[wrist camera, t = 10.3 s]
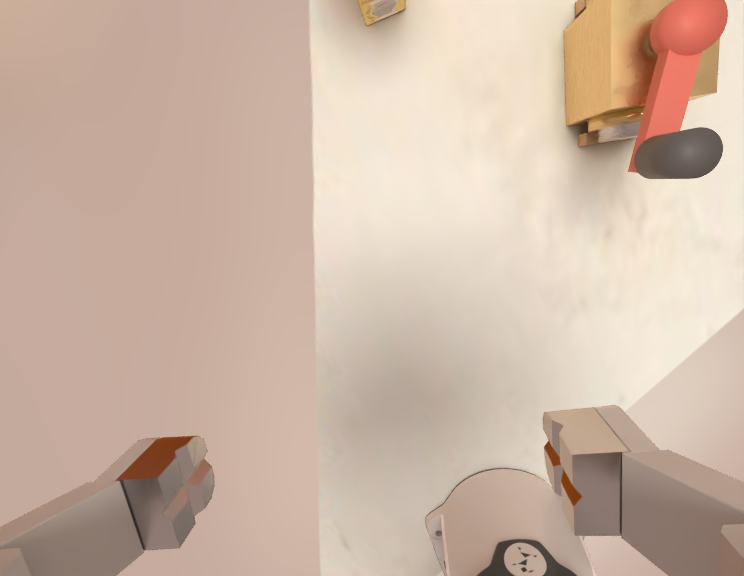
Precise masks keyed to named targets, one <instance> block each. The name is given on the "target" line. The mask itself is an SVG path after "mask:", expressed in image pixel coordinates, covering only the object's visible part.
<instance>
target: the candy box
mask: <svg viewBox="0 0 744 576" xmlns="http://www.w3.org/2000/svg"><path fill="white" fill-rule="evenodd" d="M357 2H358V4H359V7H360V10H361V13H362V15H363V18H364V21H365V24H366V26H368V25H370V24H372V23H374V22H377V21H379V20H381V19H383V18H385V17H388V16H390V15H393V14H395V13H397V12H400V11H402V10H404V9H405V7H406V5H405V0H357Z"/></svg>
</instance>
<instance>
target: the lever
mask: <svg viewBox="0 0 744 576" xmlns="http://www.w3.org/2000/svg"><path fill="white" fill-rule="evenodd" d="M727 17H728V11H727V6H726V3H725V1H724V0H674V1H673V2H671V3H670V4H668V5H667V6H666V7H664V8H663V9H662V10H661V11H660V12H659V13H658V15H657V16H656V17H655V19H654V21H653V23H652V26H651V29H650V44H651V47H652V49H653V51H654V52H655V54H656V55H657V56H658V58H657V62H656V66H655V69H654V73H653V77H652V81H651V85H650V89H649V93H648V96H647V100H646V104H645V108H644V112H643V116H642V120H641V123H640V127H639V131H638V135H637V139H636V143H635V147H634V150H633V154H632V158H631V162H630V166H629V170H628V172H636V173H639V174H640V175H642V176H643V177H645V178H649V179H690V178H699V177H702V176H704V175H706V174H708V173H709V172H711V171H712V170H713V169H714V168H715V167H716V166H717V164H718V163H719V161H720V159H721V156H722V152H723V144H722V141H721V138H720V137H719V135H718V134H717V133H716V132H715V131H713V130H711V129H708V128H701V127H700V128H694V129H688V130H683V131H680V129H681V125H682V122H683V118H684V115H685V111H686V108H687V104H688V101H689V97H690V93H691V90H692V86H693V83H694V79H695V76H696V72H697V69H698V65H699V62H700V58H701V55H702V51H704V50H706V49H707V48H709V47H710V46H712V45H713V44H714V43H715V42H716V41H717V40H718V39H719V37H720V36H721V34H722V33H723V31H724V29H725V26H726V23H727Z"/></svg>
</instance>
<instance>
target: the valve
mask: <svg viewBox="0 0 744 576" xmlns="http://www.w3.org/2000/svg"><path fill="white" fill-rule="evenodd" d="M673 1H674V0H578V1H577V2H576V3H575V16H578V17H577V18H576V19H575V20H574V21H573V22H572V23H571V24H570V25H569V26H568V27H567V28H566V29H565V30H564V59H565V97H566V126H568V125H575V124H581V123H587V122H588V133H584V134H580V135H578V146H584V145H590V144H597V143H604V142H611V141H617V140H624V139H631V138H637V135H638V131H639V127H640V123H641V120H642V116H643V112H644V108H645V104H646V100H647V96H648V93H649V89H650V85H651V81H652V77H653V73H654V69H655V66H656V62H657V58H658V56H657V55H656V54H655V52H654V51H653V49H652V47H651V44H650V29H651V26H652V23H653V21H654V19H655V17H656V16H657V15H658V13H659V12H660V11H661V10H662V9H663V8H664V7H666V6H667V5H668V4H670V3H671V2H673ZM719 41H720V37H719V39H718V40H717V41H716V42H715V43H714V44H713V45H712V46H710V47H709V48H707V49H706V50H704V51H702V55H701V58H700V62H699V65H698V69H697V72H696V76H695V79H694V83H693V86H692V90H691V93H690V97H689V101H690V100H693V99H697V98H700V97H703V96H707V95H710V94H713V93H717V77H718V59H719Z"/></svg>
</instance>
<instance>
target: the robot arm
mask: <svg viewBox="0 0 744 576" xmlns="http://www.w3.org/2000/svg"><path fill="white" fill-rule="evenodd" d="M543 430H544V432H545V434H546V436H547V438H548V440H549V441H548V442H547V444H546V445H545V446H544V453H545V463H546V468H547V473H548V477H549V480H550V483H551V485H552V487H553V488H552V487H551V486H550V485H549V484H548V483H546V482H545V481H544V480H542V479H540V478H539V477H537V476H535V475H532V474H530V473H527V472H523V471H519V470H513V469H495V470H489V471H485V472H481V473H478V474H476V475H473V476H471V477H470V478H468V479H466V480H465V481H463V482H462V483H461V484H459V485H458V486H457V487H456V488H455V489H454V490H453V492H452V493H451V494H450V496H449V498H448V499H447V501H446V502H445V503H444V504H443V505H442V506H441V507H439V508H437V509H436V510H434V511H433V512H431V513H430V514H429V515H428V516H427V517H426V527H427V530H428V533H429V536H430V538H431V541H432V544H433V546H434V549H435V552H436V554H437V557H438V560H439V562H440V565H441V568H442V570H443V573H444V575H445V576H596V572H595V569H594V566H593V564H592V561H591V559H590V556H589V554H588V551H587V549H586V546H585V544H584V541H583V540H584V536H622V538H623V539H624V540H625V541H626V542H628V543H629V544H630V545H631V546H632V547H634V548H635V549H636V550H637V551H639V552H640V553H641V554H642V555H644V556H645V557H646V558H647V559H649V560H650V561H651V562H652V563H654V564H655V565H656V566H657V567H658V568H660V569H661V570H662V571H663V572H665V573H666V574H667V575H669V576H744V482H742V481H740V480H737V479H735V478H733V477H730V476H728V475H726V474H723V473H721V472H719V471H716V470H714V469H712V468H709V467H707V466H705V465H702V464H700V463H698V462H695V461H693V460H690V459H688V458H686V457H684V456H681V455H679V454H677V453H674V452H672V451H669V450H659V448H658V447H656V445H655V444H654V443H653V442H652V441H651V440H650V439H649V438H648V437H647V436H646V435H645V434H644V433H643V431H642V430H641V429H639V427H638V426H637V425H636V424H635V423H634V422H633V421H632V420H631V418H630V417H629V416H628V415H627V414H626V413H625V412H624V411H623V410H622V409H621V408H620V407H619V406H616V405H611V406H601V407H592V408H583V409H572V410H562V411H551V412H544V414H543ZM207 451H208V450H207V448H206V444H205V441H204V439H203V438H201V437H200V436H183V437H163V438H160V437H159V438H147V439H142V440H138V441H137V442H136V443H135V444H134V445H133V446H132V447H131V448H130V449H128V450H127V451H126V452H125V453H124V454H123V455H122V456H121V457H120V458H119V459H118V460H117V461H115V463H113V464H112V465H111V466H110V467H109V468H108V469H107V470H106V471H105V472H104V473H103V474H102V475H100V476H99V477H98V478H97V479H96V480H95V481H94V482H91V483H85V484H84V485H81V486H80V487H78V488H76V489H74V490H72V491H70V492H68V493H66V494H64V495H62V496H60V497H58V498H56V499H54V500H52V501H50V502H48V503H46V504H44V505H42V506H40V507H38V508H36V509H34V510H32V511H30V512H28V513H27V514H24V515H23V516H21V517H19V518H17V519H15V520H13V521H11V522H9V523H7V524H5V525H3V526H1V527H0V576H116V575H118V574H119V573H120V572H121V571H122V570H124V569H125V568H126V567H127V566H128V565H129V564H131V563H132V562H133V561H134V560H135V559H137V558H138V557H139V556H140V555H142V553H144V550H158V549H174V548H180V547H181V545H182V544H183V542H184V541H185V539H186V537H187V536H188V534H189V533H190V531H191V530H192V528H193V526H194V525H195V518H194V516H195V515H197V514H198V513H199V512H201V511H202V510H203V509H205V508H206V506H207V505H208V503H209V501H210V500H211V498H212V494H213V490H214V486H215V485H214V473H213V469H212V466H211V465H210V464H209V463H208V462H207V461H206V460H205V459H204V457H205V456H206V453H207ZM560 496H561V497H562V498H561V497H560Z"/></svg>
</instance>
